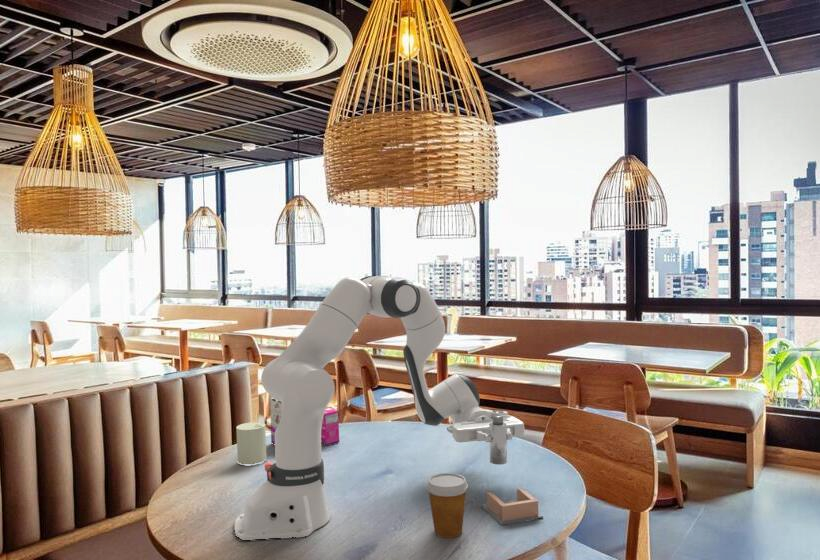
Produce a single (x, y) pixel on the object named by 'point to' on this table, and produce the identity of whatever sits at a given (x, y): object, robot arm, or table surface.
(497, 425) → the silver water flask
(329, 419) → the supplement box
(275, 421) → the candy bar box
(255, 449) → the can
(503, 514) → the dock
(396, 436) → the table surface
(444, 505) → the disposable coffee cup
